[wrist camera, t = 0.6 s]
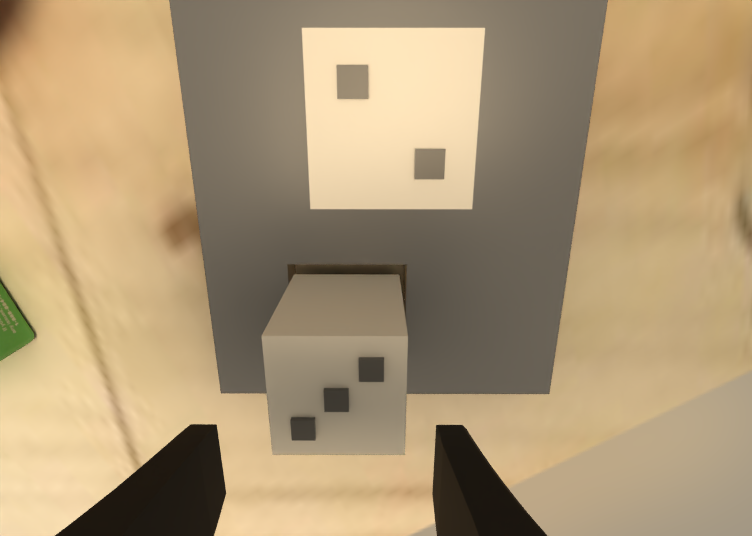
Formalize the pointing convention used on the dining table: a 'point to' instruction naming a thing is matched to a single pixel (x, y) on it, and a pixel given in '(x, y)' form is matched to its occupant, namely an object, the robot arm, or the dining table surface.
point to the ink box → (12, 326)
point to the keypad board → (393, 226)
